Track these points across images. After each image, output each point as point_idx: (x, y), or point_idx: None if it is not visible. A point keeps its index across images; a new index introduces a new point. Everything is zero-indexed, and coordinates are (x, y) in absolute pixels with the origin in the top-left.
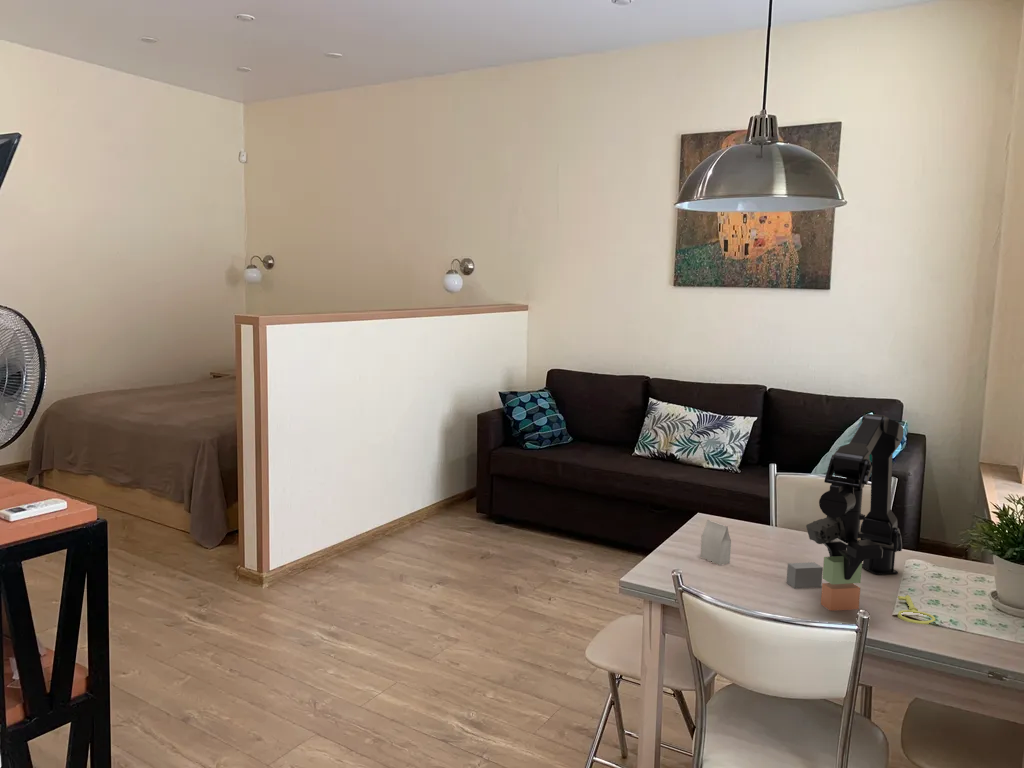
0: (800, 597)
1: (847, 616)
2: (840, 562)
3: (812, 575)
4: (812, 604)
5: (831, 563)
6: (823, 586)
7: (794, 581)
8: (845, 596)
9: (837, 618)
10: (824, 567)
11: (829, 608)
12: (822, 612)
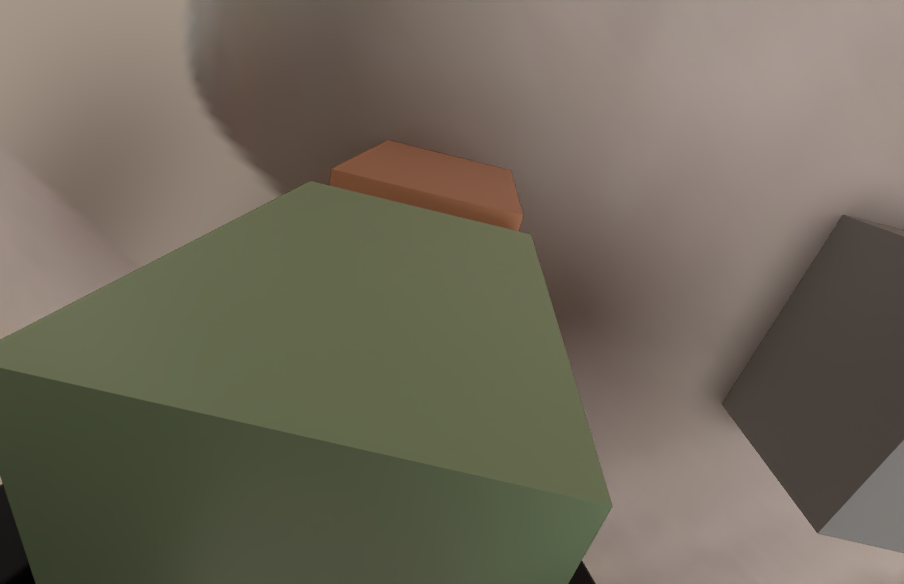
0: (691, 113)
1: (269, 182)
2: (38, 545)
3: (825, 406)
4: (535, 96)
5: (151, 340)
6: (493, 200)
7: (899, 233)
8: None
9: (249, 74)
10: (511, 301)
11: (395, 145)
12: (376, 45)
